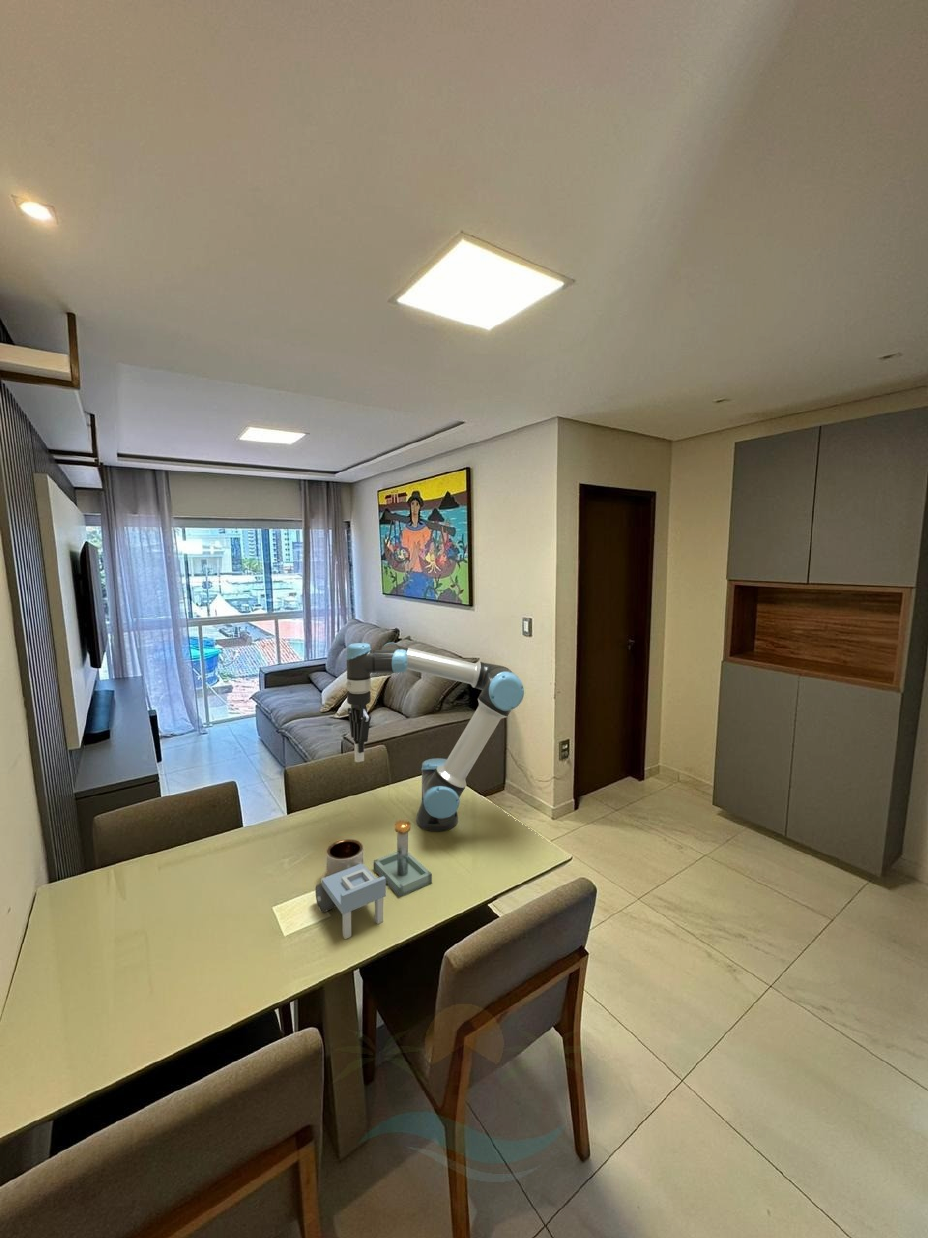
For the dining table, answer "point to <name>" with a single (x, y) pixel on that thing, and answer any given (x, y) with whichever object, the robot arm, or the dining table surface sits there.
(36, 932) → the dining table surface
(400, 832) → the orange and grey cylinder
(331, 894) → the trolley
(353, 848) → the planter
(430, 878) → the tray
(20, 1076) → the dining table surface
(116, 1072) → the dining table surface
